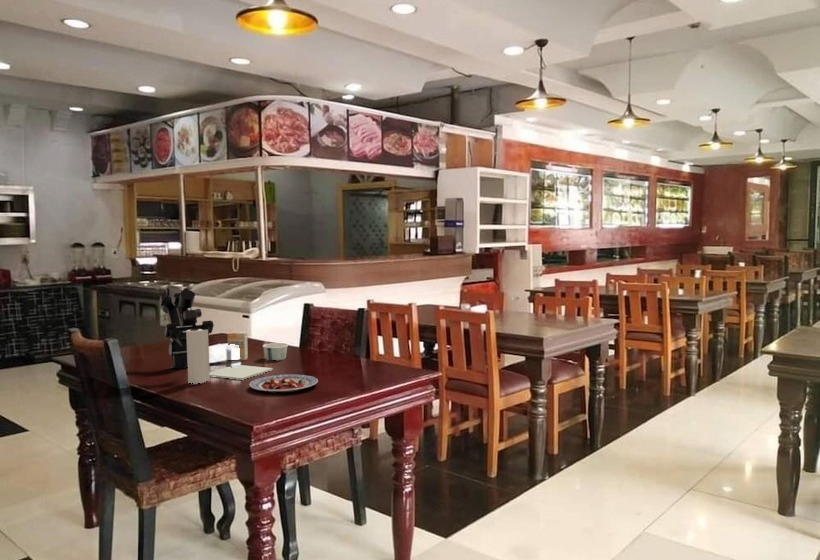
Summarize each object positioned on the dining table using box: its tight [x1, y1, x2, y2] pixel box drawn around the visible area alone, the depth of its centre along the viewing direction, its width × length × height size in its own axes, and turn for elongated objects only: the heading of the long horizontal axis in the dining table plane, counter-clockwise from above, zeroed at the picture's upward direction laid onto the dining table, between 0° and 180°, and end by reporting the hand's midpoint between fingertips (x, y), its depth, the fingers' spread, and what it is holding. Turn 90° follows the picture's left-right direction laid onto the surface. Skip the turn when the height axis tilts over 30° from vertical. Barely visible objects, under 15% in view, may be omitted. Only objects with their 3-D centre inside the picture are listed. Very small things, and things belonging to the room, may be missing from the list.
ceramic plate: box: [249, 373, 319, 393], centre depth 238 cm, size 26×26×3 cm
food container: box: [262, 342, 289, 361], centre depth 293 cm, size 12×12×6 cm
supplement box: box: [227, 331, 249, 362], centre depth 291 cm, size 8×5×13 cm, turn 88°
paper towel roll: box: [185, 329, 211, 385], centre depth 245 cm, size 7×6×21 cm
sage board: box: [209, 364, 274, 381], centre depth 262 cm, size 20×20×1 cm
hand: (193, 344), depth 252 cm, fingers open, 9 cm apart
